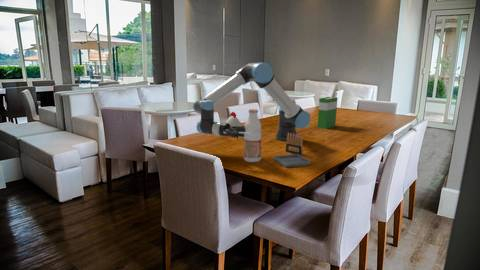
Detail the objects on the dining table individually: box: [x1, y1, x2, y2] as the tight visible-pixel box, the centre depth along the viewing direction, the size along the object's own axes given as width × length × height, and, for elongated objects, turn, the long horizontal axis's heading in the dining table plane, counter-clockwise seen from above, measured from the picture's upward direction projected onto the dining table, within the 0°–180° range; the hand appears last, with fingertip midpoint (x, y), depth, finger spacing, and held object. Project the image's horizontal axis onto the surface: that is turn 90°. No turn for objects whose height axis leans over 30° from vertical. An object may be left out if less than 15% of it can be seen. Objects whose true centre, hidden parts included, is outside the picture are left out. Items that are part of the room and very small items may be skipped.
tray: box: [273, 153, 311, 169], centre depth 178 cm, size 15×15×2 cm
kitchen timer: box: [225, 111, 242, 132], centre depth 252 cm, size 14×14×15 cm
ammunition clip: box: [285, 132, 304, 156], centre depth 195 cm, size 11×2×12 cm, turn 50°
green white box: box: [317, 96, 338, 130], centre depth 270 cm, size 18×7×24 cm, turn 139°
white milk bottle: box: [243, 108, 262, 163], centre depth 178 cm, size 9×9×28 cm
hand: (255, 133), depth 177 cm, fingers open, 13 cm apart
